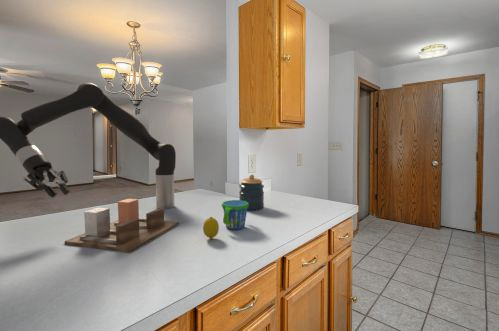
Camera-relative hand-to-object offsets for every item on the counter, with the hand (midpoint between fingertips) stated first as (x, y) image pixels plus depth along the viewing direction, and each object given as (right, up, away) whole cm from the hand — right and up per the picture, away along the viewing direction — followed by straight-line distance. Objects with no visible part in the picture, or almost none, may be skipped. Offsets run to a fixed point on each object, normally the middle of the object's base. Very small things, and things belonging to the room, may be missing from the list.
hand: (61, 194), depth 99 cm
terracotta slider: (+19, -13, +13) cm, 26 cm away
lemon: (+55, -16, -2) cm, 57 cm away
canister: (+70, -12, +43) cm, 83 cm away
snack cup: (+63, -15, +11) cm, 65 cm away
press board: (+23, -15, +4) cm, 27 cm away
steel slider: (+15, -14, -3) cm, 21 cm away
